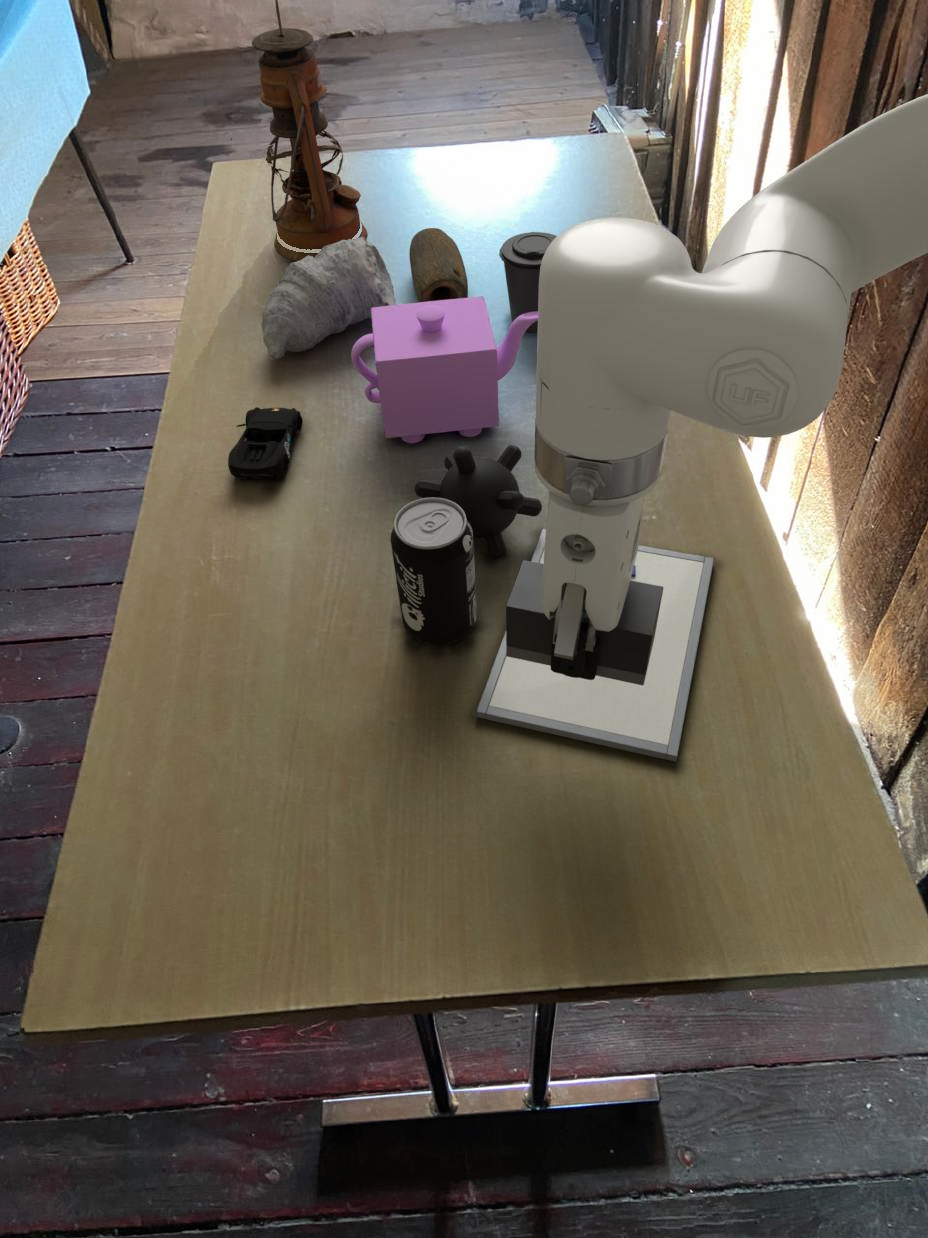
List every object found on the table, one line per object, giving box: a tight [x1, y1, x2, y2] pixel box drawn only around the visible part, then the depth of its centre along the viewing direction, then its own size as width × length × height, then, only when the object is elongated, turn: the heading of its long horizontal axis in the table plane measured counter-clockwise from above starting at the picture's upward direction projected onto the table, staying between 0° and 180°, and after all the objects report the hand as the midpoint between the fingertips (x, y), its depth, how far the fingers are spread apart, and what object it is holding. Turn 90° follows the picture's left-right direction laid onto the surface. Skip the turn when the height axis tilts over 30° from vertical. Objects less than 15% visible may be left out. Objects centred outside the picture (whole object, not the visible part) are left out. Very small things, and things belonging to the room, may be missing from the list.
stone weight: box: [408, 227, 469, 303], centre depth 116 cm, size 15×7×7 cm, turn 11°
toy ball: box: [414, 444, 543, 560], centre depth 86 cm, size 11×11×12 cm
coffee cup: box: [498, 231, 558, 334], centre depth 110 cm, size 8×8×10 cm
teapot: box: [350, 296, 538, 444], centre depth 97 cm, size 20×10×12 cm, turn 96°
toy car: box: [227, 407, 304, 481], centre depth 98 cm, size 8×12×4 cm
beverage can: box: [390, 497, 478, 646], centre depth 78 cm, size 7×7×12 cm
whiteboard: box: [476, 528, 715, 763], centre depth 80 cm, size 16×22×1 cm
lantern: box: [251, 0, 369, 262], centre depth 119 cm, size 17×13×30 cm
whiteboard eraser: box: [505, 559, 664, 686], centre depth 66 cm, size 10×5×6 cm, turn 73°
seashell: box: [261, 237, 397, 360], centre depth 110 cm, size 16×15×10 cm
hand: (581, 643), depth 68 cm, fingers closed on whiteboard eraser, 4 cm apart
